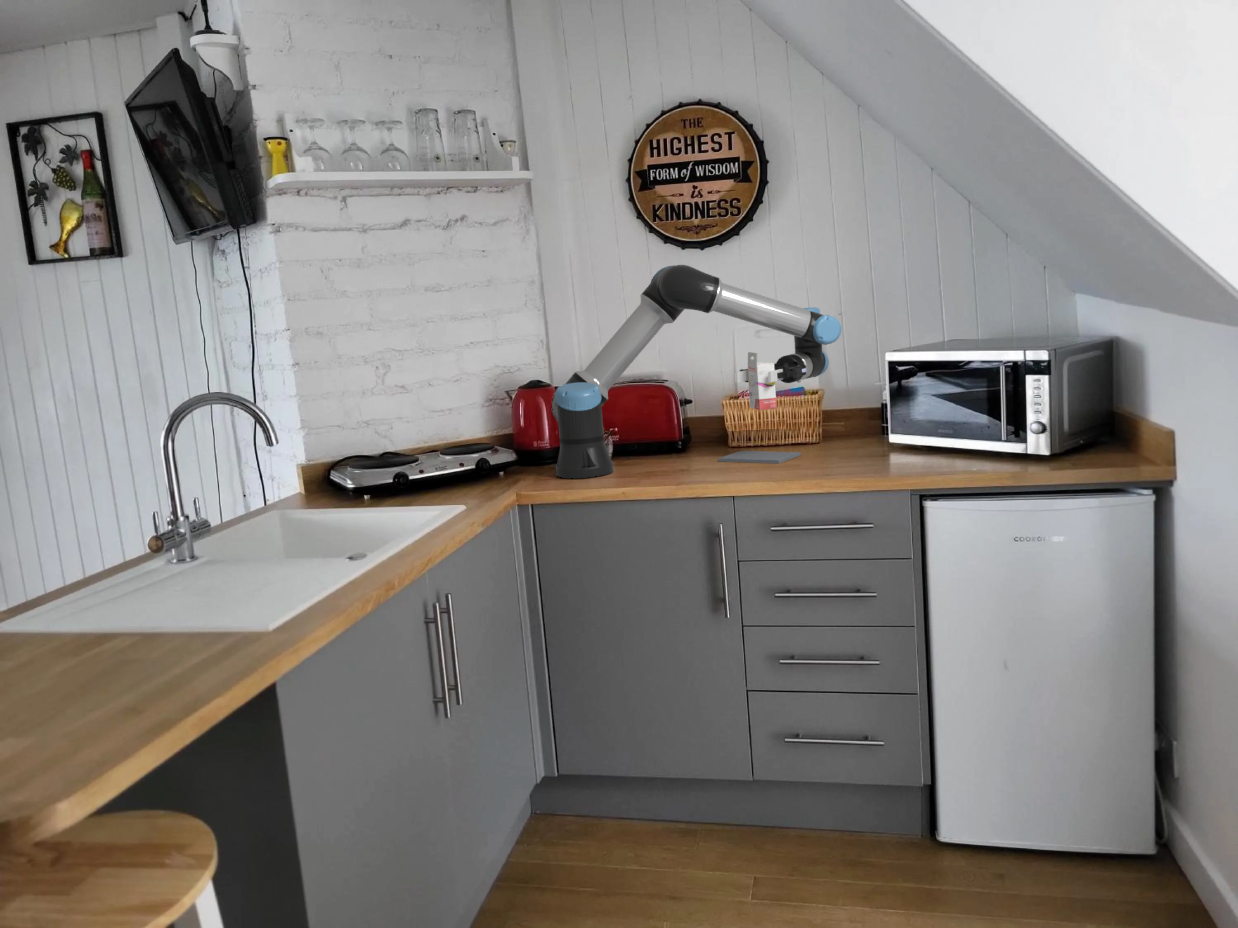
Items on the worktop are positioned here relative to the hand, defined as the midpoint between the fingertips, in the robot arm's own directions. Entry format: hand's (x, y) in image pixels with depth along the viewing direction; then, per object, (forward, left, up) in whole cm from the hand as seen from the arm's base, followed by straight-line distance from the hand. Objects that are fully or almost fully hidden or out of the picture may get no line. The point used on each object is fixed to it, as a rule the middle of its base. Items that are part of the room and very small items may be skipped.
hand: (752, 377), depth 271 cm
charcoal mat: (-2, +5, -22) cm, 22 cm away
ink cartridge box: (0, +5, -9) cm, 10 cm away
